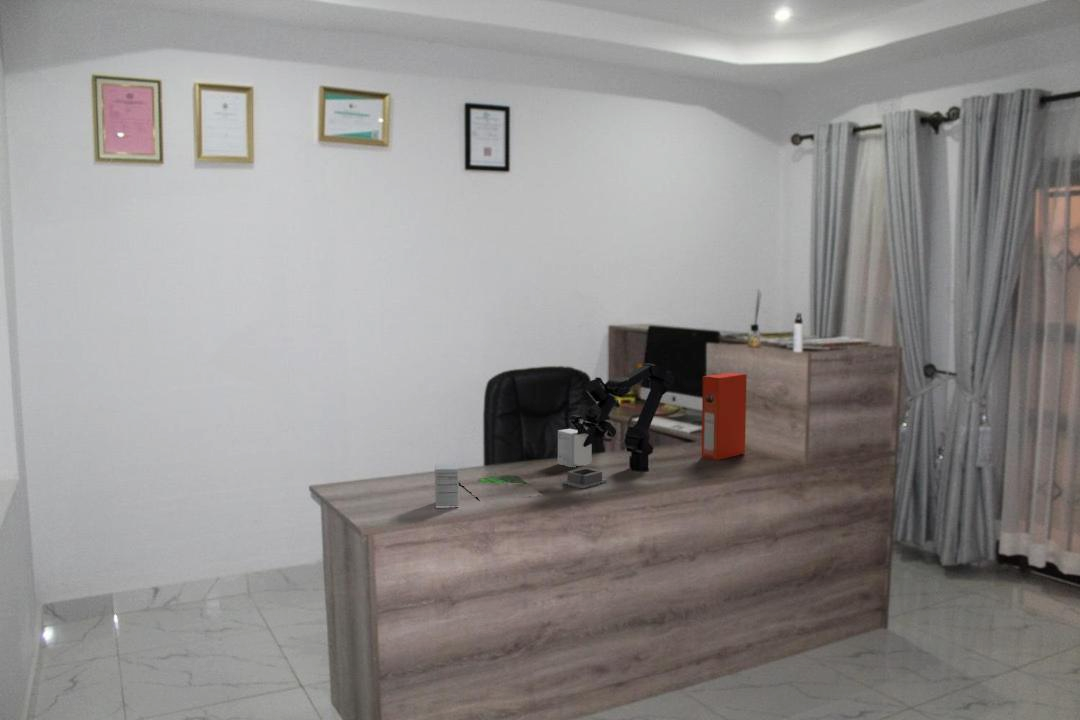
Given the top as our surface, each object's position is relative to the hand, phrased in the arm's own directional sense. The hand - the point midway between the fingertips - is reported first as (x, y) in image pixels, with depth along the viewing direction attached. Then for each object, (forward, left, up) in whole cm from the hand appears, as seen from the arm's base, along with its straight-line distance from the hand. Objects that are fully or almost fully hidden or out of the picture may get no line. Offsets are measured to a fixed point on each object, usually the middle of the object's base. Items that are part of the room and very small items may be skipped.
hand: (580, 445), depth 296 cm
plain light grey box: (-1, -1, -7) cm, 7 cm away
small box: (+2, -27, -14) cm, 30 cm away
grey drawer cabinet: (+44, +25, -14) cm, 52 cm away
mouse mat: (+28, +6, -14) cm, 32 cm away
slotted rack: (-2, -1, -13) cm, 14 cm away
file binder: (-59, -41, -14) cm, 73 cm away
